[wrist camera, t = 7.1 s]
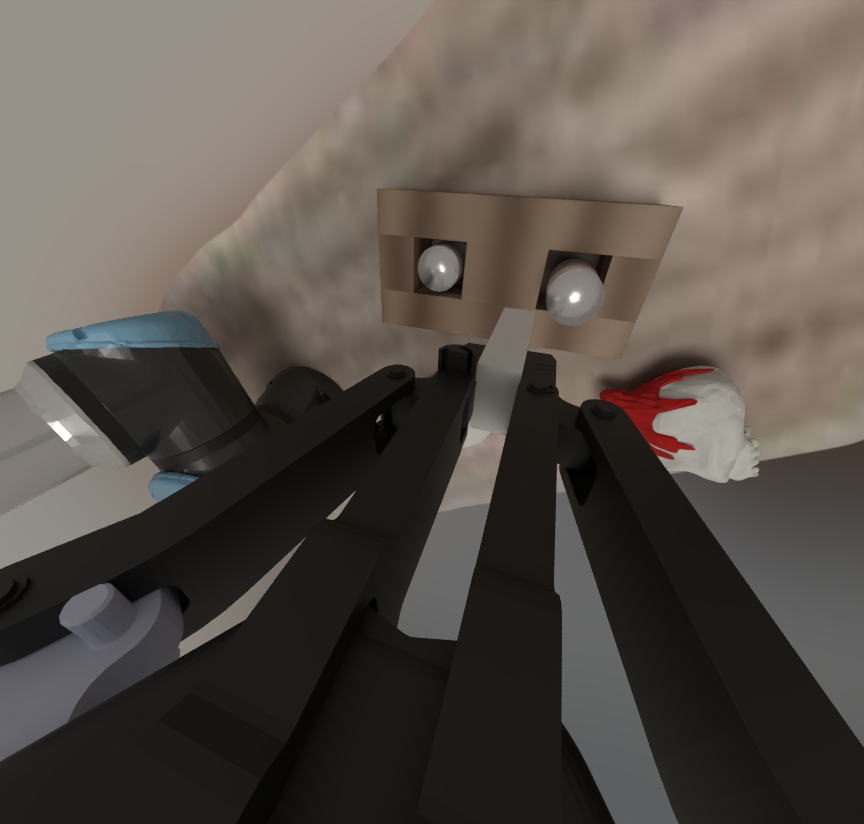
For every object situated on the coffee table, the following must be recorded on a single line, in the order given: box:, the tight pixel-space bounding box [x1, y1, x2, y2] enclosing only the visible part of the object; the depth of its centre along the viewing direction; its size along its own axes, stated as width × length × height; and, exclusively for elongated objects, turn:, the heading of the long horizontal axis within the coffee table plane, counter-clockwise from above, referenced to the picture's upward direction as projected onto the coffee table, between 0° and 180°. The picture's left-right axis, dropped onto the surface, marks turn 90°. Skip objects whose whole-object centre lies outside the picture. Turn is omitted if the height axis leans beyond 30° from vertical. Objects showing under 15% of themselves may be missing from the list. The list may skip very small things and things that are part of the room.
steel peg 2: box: [546, 258, 605, 326], centre depth 26 cm, size 4×4×6 cm
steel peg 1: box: [418, 240, 467, 292], centre depth 33 cm, size 4×4×6 cm
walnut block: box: [377, 189, 683, 359], centre depth 32 cm, size 24×12×6 cm, turn 87°
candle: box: [600, 366, 760, 483], centre depth 33 cm, size 9×11×15 cm
